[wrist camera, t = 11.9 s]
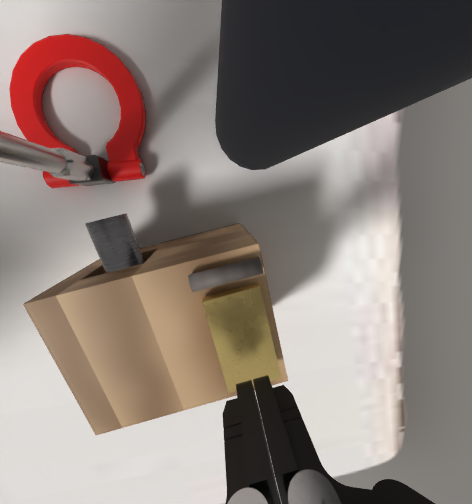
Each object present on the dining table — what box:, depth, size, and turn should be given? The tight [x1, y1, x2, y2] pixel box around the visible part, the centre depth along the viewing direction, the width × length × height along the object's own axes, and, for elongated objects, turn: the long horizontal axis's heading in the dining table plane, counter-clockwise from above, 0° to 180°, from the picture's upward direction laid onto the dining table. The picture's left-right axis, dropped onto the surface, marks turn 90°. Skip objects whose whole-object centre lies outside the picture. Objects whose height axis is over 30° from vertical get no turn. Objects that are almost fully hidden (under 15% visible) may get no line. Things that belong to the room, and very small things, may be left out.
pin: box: [86, 214, 145, 273], centre depth 16 cm, size 13×5×5 cm, turn 13°
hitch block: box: [23, 223, 288, 435], centre depth 16 cm, size 12×9×9 cm
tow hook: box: [0, 34, 146, 188], centre depth 10 cm, size 8×13×9 cm
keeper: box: [202, 283, 281, 393], centre depth 12 cm, size 3×6×1 cm, turn 13°
